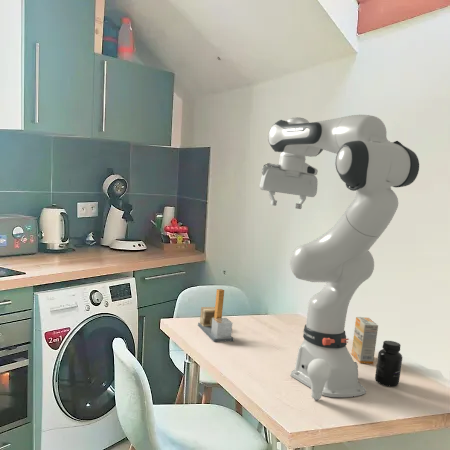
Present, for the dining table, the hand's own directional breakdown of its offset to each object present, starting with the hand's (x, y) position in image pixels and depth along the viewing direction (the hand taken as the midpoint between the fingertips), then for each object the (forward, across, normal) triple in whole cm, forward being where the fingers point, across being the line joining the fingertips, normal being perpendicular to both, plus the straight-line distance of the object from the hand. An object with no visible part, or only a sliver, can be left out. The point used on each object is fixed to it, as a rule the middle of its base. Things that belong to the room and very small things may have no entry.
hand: (285, 207), depth 178 cm
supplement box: (+46, +26, -18) cm, 56 cm away
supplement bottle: (+48, +23, -36) cm, 64 cm away
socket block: (+46, -16, +17) cm, 51 cm away
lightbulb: (+50, -5, -44) cm, 66 cm away
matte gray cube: (+47, -16, +4) cm, 49 cm away
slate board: (+47, -16, +10) cm, 51 cm away
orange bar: (+45, -16, +7) cm, 49 cm away
